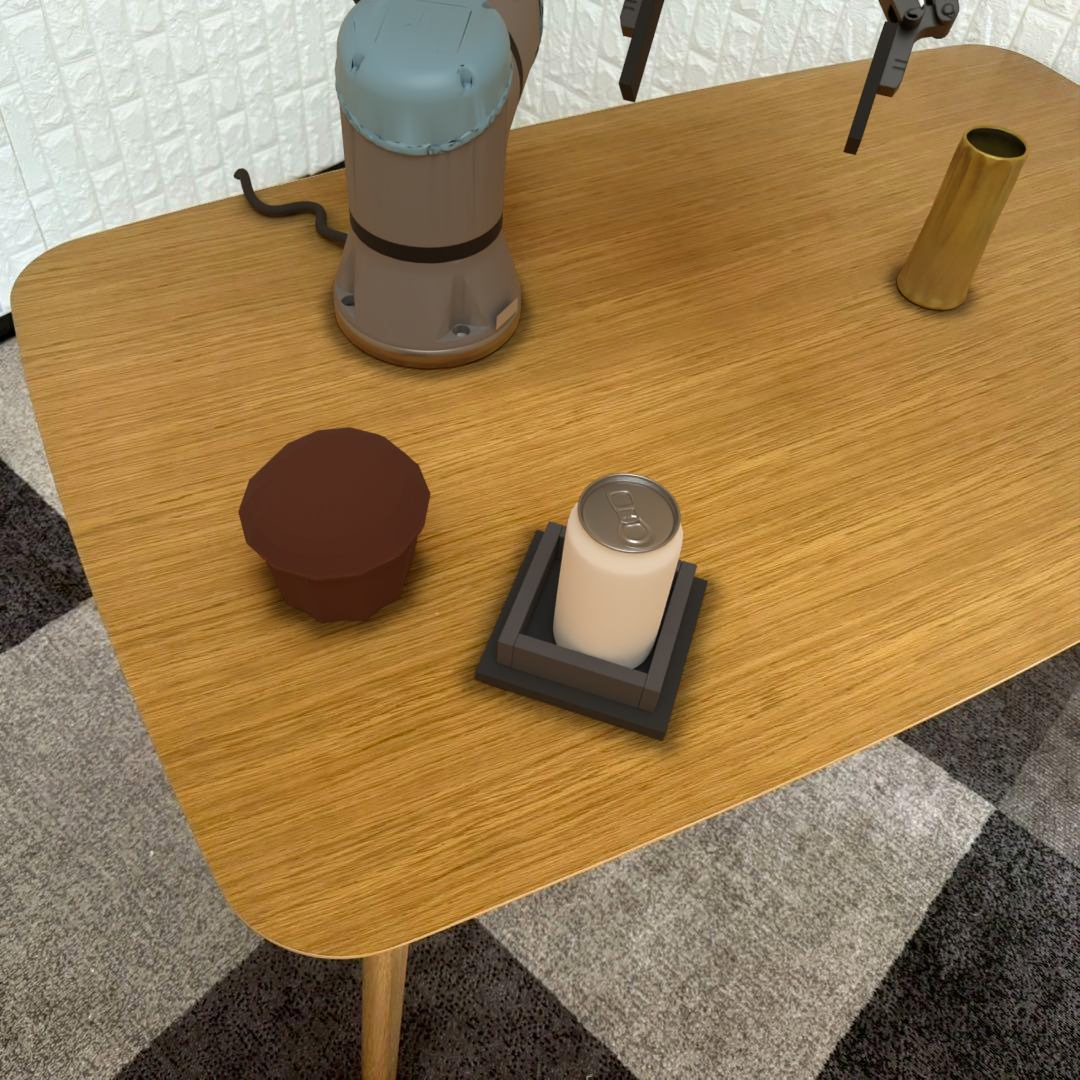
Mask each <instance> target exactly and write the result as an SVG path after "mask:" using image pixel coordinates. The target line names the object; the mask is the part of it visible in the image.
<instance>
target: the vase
mask: <svg viewBox="0 0 1080 1080" xmlns="http://www.w3.org/2000/svg"><path fill="white" fill-rule="evenodd" d="M1030 153H1031V148H1030V144H1029V142H1028V141H1027V139H1026V138H1024V136H1022V135H1021V134H1020V133H1018V132H1016V131H1014V130H1012V129H1009V128H1007V127H1005V126H1000V125H995V124H974V125H972V126H969V127H968V128H967V129H965V131H964V132H963V133H962V136H961V138H960V140H959V142H958V144H957V146H956V149H955V151H954V153H953V156H952V158H951V159H950V160H951V161H950V163H949V164H948V168H947V170H946V173H945V175H944V177H943V179H942V181H941V185H940V187H939V188H938V191H937V193H936V196H935V198H934V200H933V203H932V205H931V207H930V210H929V212H928V215H927V216H926V219H925V220H924V223H923V226H922V228H921V229H920V231H919V234H918V236H917V237H916V240H915V242H914V244H913V246H912V248H911V250H910V252H909V254H908V257H907V259H906V260H905V262H904V265H903V267H902V269H901V271H900V272H899V273H898V275H897V277H896V284H897V288H898V290H899V292H900V293H901V294H902V295H903V296H904V297H905V299H907V300H908V301H910V302H912V303H913V304H915V305H918V306H919V307H922V308H925V309H930V310H934V311H935V310H936V311H937V310H938V311H947V310H949V311H950V310H953V309H956V308H958V307H959V306H961V305H962V304H963V303H964V302H965V300H966V298H967V295H968V290H969V287H970V285H971V283H972V280H973V278H974V276H975V273H976V271H977V269H978V267H979V264H980V263H981V260H982V258H983V255H984V253H985V251H986V248H987V246H988V244H989V241H990V239H991V236H992V234H993V232H994V230H995V228H996V225H997V224H998V222H999V219H1000V216H1001V214H1002V212H1003V210H1004V208H1005V206H1006V204H1007V202H1008V201H1009V198H1010V196H1011V193H1012V192H1013V189H1014V187H1015V185H1016V183H1017V181H1018V178H1019V176H1020V173H1021V171H1022V170H1023V166H1024V164H1025V162H1027V160H1028V158H1029V156H1030Z"/></svg>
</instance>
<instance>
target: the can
mask: <svg viewBox="0 0 1080 1080" xmlns="http://www.w3.org/2000/svg"><path fill="white" fill-rule="evenodd" d="M681 521H682V513H681V509H680V506H679V503H678V501H677V499H676V497H675V496H674V495H673V494H672V493H671V491H670V490H669V489H667V488H666V487H665V486H664V485H663V484H661V483H659V482H658V481H656V480H654V479H652V478H651V477H648V476H644V475H640V474H637V473H630V472H629V473H628V472H627V473H626V472H618V473H610V474H607V475H604V476H600V477H598V478H596V479H594V480H593V481H592V482H590V483H589V484H588V485H587V486H586V487H585V488H584V489H583V491H582V492H581V494H580V495H579V497H578V501H577V502H576V503H575V505H574V506H573V507H572V509H571V511H570V513H569V516H568V520H567V524H566V526H567V529H566V535H565V541H564V548H563V555H562V562H561V569H560V576H559V584H558V591H557V598H556V606H555V613H554V622H553V633H554V638H555V641H556V644H557V645H558V646H561V647H564V648H567V649H570V650H574V651H577V652H580V653H583V654H586V655H590V656H593V657H596V658H599V659H602V660H605V661H609V662H612V663H615V664H618V665H621V666H624V667H628V668H631V669H634V668H636V667H637V666H639V665H640V664H642V663H643V662H644V661H645V660H646V658H647V657H648V656H649V654H650V653H651V651H652V648H653V646H654V643H655V640H656V636H657V633H658V630H659V626H660V623H661V619H662V616H663V612H664V609H665V605H666V602H667V598H668V595H669V591H670V588H671V584H672V581H673V577H674V574H675V570H676V567H677V563H678V559H679V560H680V556H681V551H682V547H683V541H684V531H683V525H682V523H681Z"/></svg>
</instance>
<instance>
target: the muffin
mask: <svg viewBox="0 0 1080 1080" xmlns="http://www.w3.org/2000/svg"><path fill="white" fill-rule="evenodd" d="M431 495H432V494H431V492H430V488H429V487H428V484H427V482H426V479H425V477H424V475H423V472H422V469H421V466H420V465H419V464H418V463H417V462H416V461H414V460H413V459H412V457H410V456H409V455H408V454H407V453H406V452H405V451H403V450H402V449H401V448H399V447H398V446H397V445H396V444H394V442H392V441H391V440H390V439H388V438H387V437H385V435H382V434H378V433H375V432H371V431H367V430H363V429H358V428H355V427H351V426H348V427H337V428H328V429H327V428H326V429H316V430H314V431H313V432H310V433H308V434H305V435H303V436H301V437H299V438H297V439H294V440H292V441H290V442H288V443H286V444H285V445H284V446H283V447H282V448H281V449H280V450H278V452H277V453H275V454H274V455H273V456H272V457H271V458H270V459H269V460H268V461H266V463H265V464H264V465H262V467H260V469H259V470H258V471H257V472H256V473H254V474H253V475H252V476H251V478H249V479H248V482H247V486H246V488H245V491H244V494H243V497H242V499H241V501H240V502H241V503H240V505H239V508H238V511H237V513H238V516H239V521H240V524H241V528H242V532H243V536H244V539H245V544H246V545H247V546H248V547H249V548H250V549H252V551H254V552H255V553H256V554H257V555H258V556H259V557H260V558H262V560H263V561H264V562H265V563H266V565H267V567H268V570H269V571H270V573H271V576H272V578H273V579H274V581H275V584H276V586H277V588H278V590H279V592H280V594H281V596H282V598H283V600H284V602H285V604H286V605H288V606H290V607H291V608H293V609H297V610H299V611H302V612H304V613H306V614H307V615H309V616H310V617H312V618H313V619H314V620H316V621H318V622H319V623H320V624H326V623H333V622H342V621H357V622H358V621H360V622H361V621H362V622H364V621H365V622H366V621H367V620H369V619H370V618H371V617H372V616H374V615H375V614H376V613H378V612H379V611H380V610H381V609H383V608H385V607H387V606H388V605H390V604H392V603H394V602H396V601H397V600H399V599H401V597H402V594H403V593H402V592H403V589H404V584H405V581H406V579H407V576H408V574H409V573H410V570H411V568H412V566H413V562H414V557H415V553H416V547H417V542H418V538H419V535H420V534H421V533H422V532H423V529H424V527H425V525H426V519H427V515H428V509H429V504H430V501H431Z"/></svg>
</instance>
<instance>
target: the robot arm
mask: <svg viewBox="0 0 1080 1080" xmlns="http://www.w3.org/2000/svg"><path fill="white" fill-rule="evenodd" d="M665 1H666V0H624V1H623V5H622V8H621V11H620V14H619V22H620V23H619V24H620V25H619V26H620V29H621V34H622V37H626V38H630V41H629V45H628V48H627V52H626V55H625V59H624V63H623V66H622V69H621V73H620V77H619V80H618V83H617V84H618V87H619V91H620V93H621V97H622V100H623V101H626V102H631V103H635V104H636V101H637V97H638V94H639V91H640V87H641V83H642V80H643V77H644V73H645V70H646V66H647V63H648V59H649V56H650V52H651V49H652V45H653V42H654V39H655V36H656V32H657V28H658V25H659V21H660V18H661V14H662V11H663V7H664V4H665ZM877 1H878V3H879V6H880V7H881V10H882V12H883V14H884V15H883V16H884V17H885V19H886V20H884V23H883V26H882V29H881V32H880V35H879V37H878V40H877V43H876V47H875V49H874V53H873V56H872V60H871V62H870V66H869V69H868V72H867V75H866V78H865V81H864V84H863V88H862V91H861V94H860V97H859V101H858V104H857V106H856V110H855V114H854V117H853V119H852V123H851V126H850V129H849V133H848V135H847V137H846V138H847V139H846V142H845V145H844V149H843V151H842V153H844V154H849V155H854V156H856V155H857V153H858V151H859V148H860V145H861V143H862V140H863V137H864V135H865V130H866V128H867V125H868V121H869V118H870V115H871V112H872V109H873V105H874V102H875V99H876V96H877V95H879V96H883V97H887V98H893V97H894V96H895V95H896V93H897V92H898V90H899V89H900V87H901V84H902V82H903V79H904V76H905V74H906V73H905V72H906V70H907V67H908V64H909V60H910V57H911V54H912V51H913V48H914V46H915V45H914V44H915V43H916V42H918V41H919V40H921V39H926V38H932V39H935V40H942V39H944V38H946V37H947V36H948V35H949V34H950V32H951V29H952V28H953V26H954V23H955V22H956V20H957V18H958V16H959V13H960V2H959V0H923V4H922V5H921V3H920V0H877ZM352 2H353V3H354V4H355V5H354V6H352V7H351V8H350V9H349V11H348V12H347V13H346V15H345V17H344V19H343V20H342V22H341V25H340V27H339V29H338V34H337V38H336V59H335V65H334V75H335V84H334V87H335V92H336V96H337V100H338V104H339V116H340V126H341V136H342V138H341V139H342V147H343V159H344V170H345V171H344V172H345V180H346V191H347V200H348V201H347V202H348V213H349V214H348V215H349V230H348V232H347V233H346V232H342V231H339V230H335V229H332V228H330V227H329V226H327V211H326V210H325V208H324V207H323V206H322V205H321V203H318V202H315V201H310V200H301V201H300V200H299V201H294V202H293V201H292V202H288V203H284V204H275V205H274V204H268V203H265V202H263V201H262V200H261V199H259V197H257V194H256V193H255V190H254V188H253V183H252V180H251V175H250V174H249V171H248V170H247V169H246V168H244V167H242V168H240V167H239V168H238V169H237V170H235V171H234V174H233V178H234V179H235V180H237V181H239V182H240V187H241V190H242V193H243V195H244V197H245V199H246V200H247V202H248V204H249V205H250V206H251V208H253V209H254V210H255V211H256V212H258V213H260V214H262V215H266V216H272V217H278V216H287V215H290V214H297V213H302V212H308V213H314V215H315V222H314V226H315V229H316V231H317V233H318V234H319V235H321V237H323V238H325V239H327V240H330V241H333V242H337V243H339V244H343V245H344V246H343V251H342V252H341V253H342V254H341V257H340V260H339V264H338V268H337V271H336V274H335V277H334V282H333V287H332V297H333V305H334V314H335V319H336V322H337V325H338V326H339V328H340V330H341V332H342V333H343V334H344V336H345V337H346V338H347V339H348V341H350V342H351V343H352V344H353V345H354V346H355V347H357V348H358V349H360V350H361V351H362V352H365V353H366V354H368V355H370V356H372V357H374V358H376V359H379V360H381V361H383V362H387V363H390V364H393V365H399V366H403V367H408V368H417V369H443V368H450V367H457V366H460V365H465V364H468V363H469V364H470V363H472V362H475V361H477V360H480V359H482V358H484V357H487V356H489V355H490V354H493V352H495V351H497V350H498V349H500V348H501V347H503V345H505V343H506V342H508V340H509V339H510V338H511V337H512V336H513V334H514V333H515V331H516V329H517V327H518V325H519V322H520V318H521V308H522V286H521V282H520V279H519V276H518V272H517V269H516V266H515V263H514V260H513V257H512V254H511V251H510V248H509V244H508V241H507V238H506V235H505V232H504V228H503V224H504V223H503V222H504V204H505V184H506V183H505V182H506V161H507V149H508V142H509V136H510V132H511V128H512V125H513V121H514V118H515V116H516V112H517V110H518V105H519V103H520V102H521V98H522V95H523V92H524V89H525V87H526V83H527V80H528V78H529V74H530V72H531V69H532V67H533V65H534V63H535V61H536V59H537V57H538V53H539V51H540V46H541V43H542V37H543V33H544V32H543V31H544V12H545V11H544V7H545V6H544V5H545V3H544V0H352Z"/></svg>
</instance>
